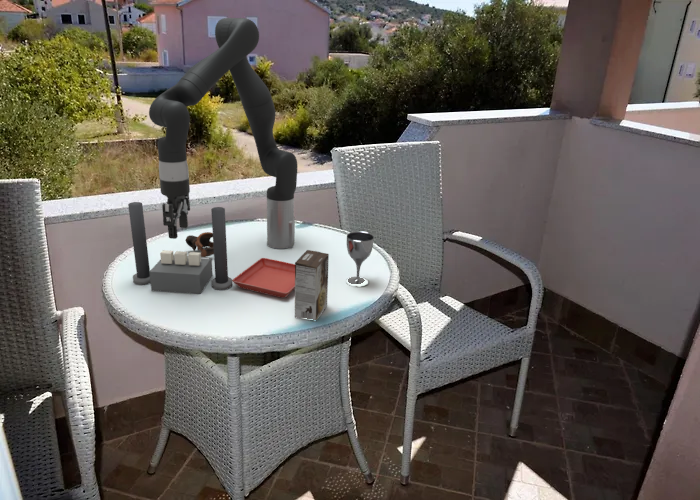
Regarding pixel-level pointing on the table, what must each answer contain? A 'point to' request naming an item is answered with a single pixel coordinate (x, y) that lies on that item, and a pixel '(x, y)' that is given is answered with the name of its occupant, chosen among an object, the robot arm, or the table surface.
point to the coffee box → (311, 284)
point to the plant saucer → (268, 277)
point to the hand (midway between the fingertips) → (178, 232)
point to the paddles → (180, 258)
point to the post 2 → (220, 250)
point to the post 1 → (139, 244)
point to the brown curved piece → (201, 243)
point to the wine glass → (359, 251)
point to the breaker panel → (181, 276)
